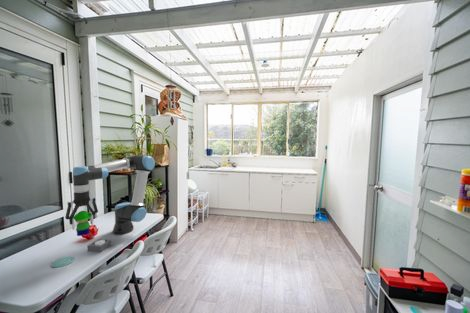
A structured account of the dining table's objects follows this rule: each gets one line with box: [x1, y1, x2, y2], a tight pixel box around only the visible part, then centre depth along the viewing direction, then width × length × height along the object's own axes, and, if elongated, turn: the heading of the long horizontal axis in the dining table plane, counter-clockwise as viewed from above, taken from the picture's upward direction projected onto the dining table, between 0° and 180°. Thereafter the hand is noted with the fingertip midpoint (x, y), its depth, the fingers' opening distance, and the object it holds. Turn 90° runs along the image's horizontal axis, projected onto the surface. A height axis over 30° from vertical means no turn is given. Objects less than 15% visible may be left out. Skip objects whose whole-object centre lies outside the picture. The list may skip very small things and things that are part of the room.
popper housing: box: [86, 238, 113, 253], centre depth 136 cm, size 10×10×4 cm
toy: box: [73, 210, 92, 237], centre depth 122 cm, size 9×9×15 cm
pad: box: [50, 255, 76, 269], centre depth 120 cm, size 11×11×1 cm
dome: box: [95, 240, 105, 245], centre depth 136 cm, size 6×6×3 cm
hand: (82, 226), depth 122 cm, fingers closed on toy, 9 cm apart
